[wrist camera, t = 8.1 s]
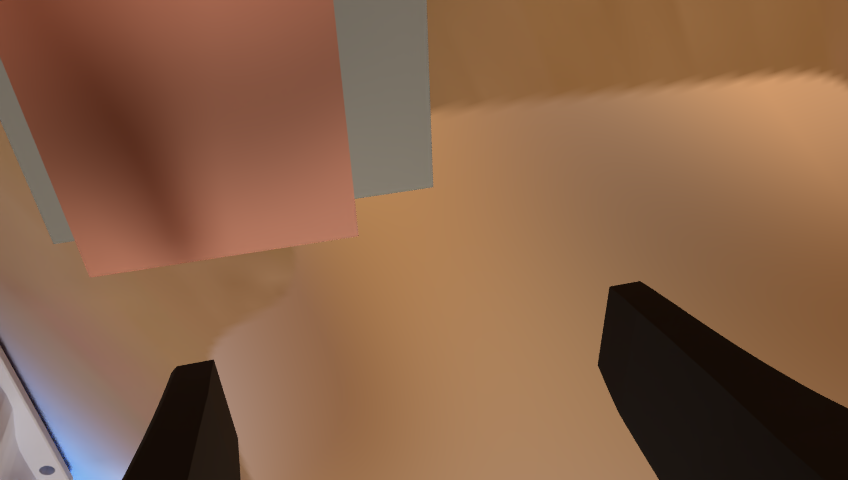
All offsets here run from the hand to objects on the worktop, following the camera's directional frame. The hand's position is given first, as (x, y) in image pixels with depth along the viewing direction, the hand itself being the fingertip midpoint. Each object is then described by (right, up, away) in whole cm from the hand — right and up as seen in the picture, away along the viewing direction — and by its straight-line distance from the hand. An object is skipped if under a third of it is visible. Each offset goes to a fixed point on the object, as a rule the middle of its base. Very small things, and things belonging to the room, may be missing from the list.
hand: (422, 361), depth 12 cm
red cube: (-5, +7, +3) cm, 9 cm away
